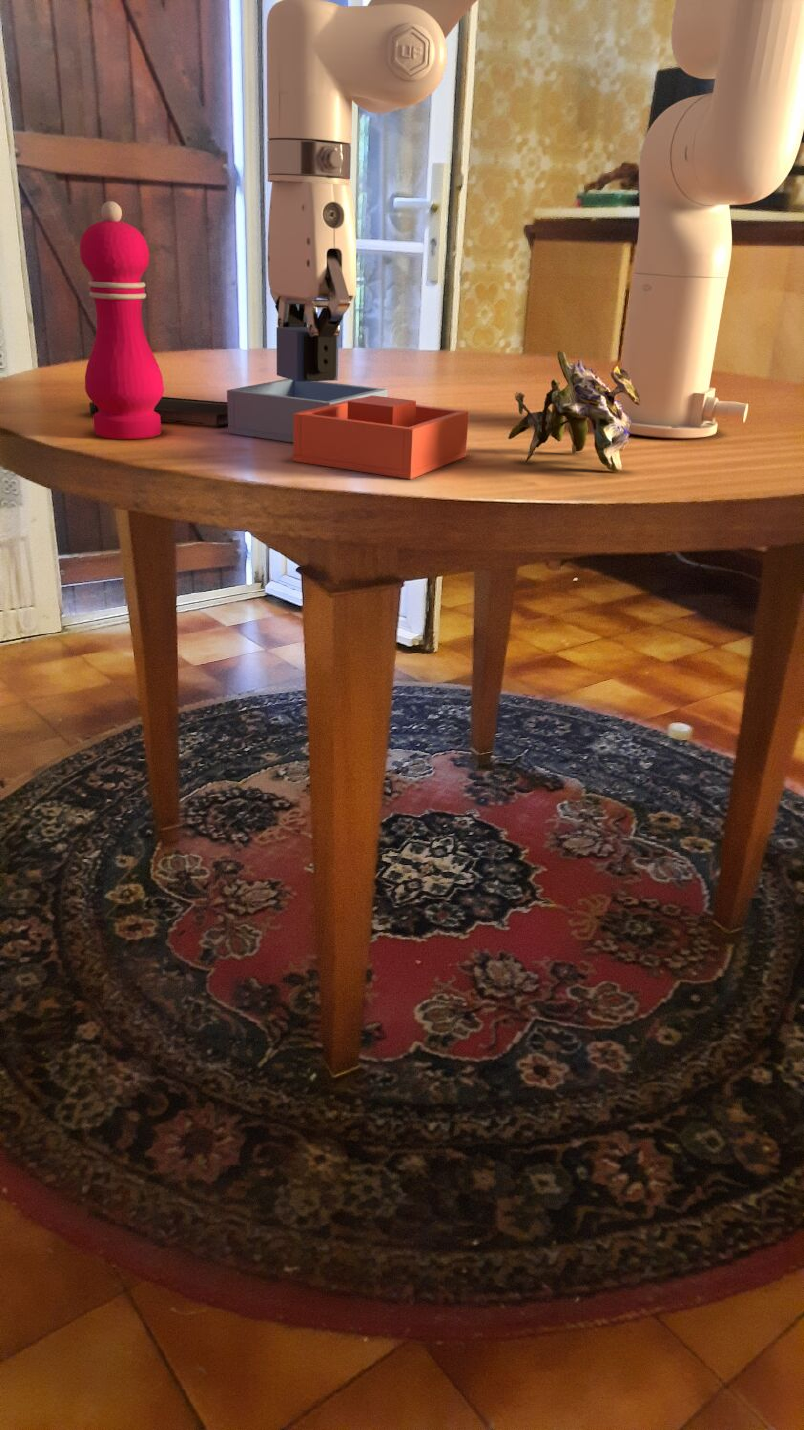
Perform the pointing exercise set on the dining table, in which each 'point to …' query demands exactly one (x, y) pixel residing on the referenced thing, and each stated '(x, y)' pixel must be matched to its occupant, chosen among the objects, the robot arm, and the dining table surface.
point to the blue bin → (284, 405)
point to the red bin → (380, 441)
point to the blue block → (294, 353)
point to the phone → (188, 411)
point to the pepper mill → (120, 331)
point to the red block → (383, 410)
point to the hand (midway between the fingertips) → (307, 374)
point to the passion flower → (582, 412)
